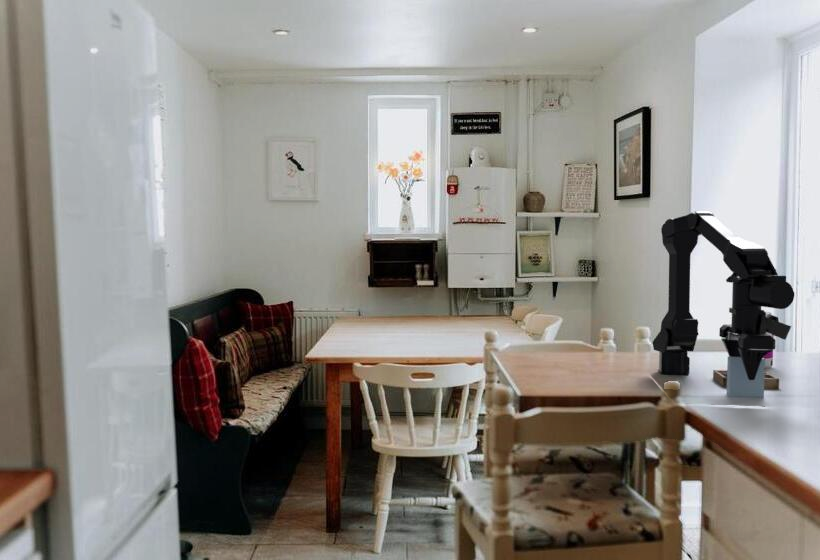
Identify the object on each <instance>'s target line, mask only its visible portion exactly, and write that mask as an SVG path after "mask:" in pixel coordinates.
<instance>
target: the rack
mask: <svg viewBox="0 0 820 560" xmlns="http://www.w3.org/2000/svg"><path fill="white" fill-rule="evenodd" d="M712 372H713V373H712V378H711V379H712V380H713V381H715V382H716V383H717V384H718V385H720V386H721V387H722V388H724V389H727V369H725V370H722V369H721V370H719V369H713V371H712ZM764 376H765V378H764V391H765V390H766V391H782V389H780V378H778V377H776V376H775V375H773V374H772V373H770V372H768V371H765V375H764Z"/></svg>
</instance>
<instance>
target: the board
mask: <svg viewBox="0 0 820 560" xmlns="http://www.w3.org/2000/svg"><path fill="white" fill-rule="evenodd" d="M765 369H766V368H765V359H764V358H762V360H761V363H760V365H759V368H758V371H757V374H756V377H755V379H754V380H749V379H748V377H747V374H746V371H745V368H744V365H743V362H742V359H741V357H729V355H728V356H727V369H726V370H727V388H726V395H727V396H728V397H743V398H745V397H746V398H764V397H765V390H764V375H765V372H766V370H765Z"/></svg>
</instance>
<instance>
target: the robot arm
mask: <svg viewBox="0 0 820 560" xmlns="http://www.w3.org/2000/svg"><path fill="white" fill-rule="evenodd" d="M660 230H661V232H660V233H661V238H662V245H663V247H664V248H665V249H666V251H667V253H668V257H669V258H668V304H667V305H668V310H667V312H666V314H665V316H663V319H662V320H661V324H660V331H659V332H658V333H657V335H656V337H655V338H654V339H653V340H652V346H653V347H652V348H653V351H657V352H659V353H658V354H659V356H658V357H659V358H658V364H659V365H658V369H657V371H658V372H659V373H660V375H661V376H662V375H663V376H685V377H686V376H689V374H690V364H691V363H690V362H691V361H690V357H689V356H688V352H694V350H695V346H696V342H697V339H698V336H699V321H698V318H694V317H693V315H692V313H691V311H690V303H691V302H690V301H691V300H690V298H691V297H690V296H691V295H690V294H691V289H690V288H691V254H692V253H693V251H694V249H695V248H696V246H697V245H698V241H699V236H702V237H703V238H704V239H706V240H707V241H708V242H709V243H710V244H712V245H713V247H715V248H716V249H717V250H718V251H719V252H720V253H721V254H722V256H723V257H722V260H723V262H724V263H725V265H726V266H727V268H728V269H729V270H730V271H731V272H732V273H731V275H729V276H728V277H727V278H726V279H725V281H726V283H731V284H732V292H731V293H732V295H731V300H732V301H731V307H728V309H729V310H728V312H729V313H730V314H731V324H722V326H720V327H719V335H718V336H719V337H721V338H720V339H721V341H722V343H723V346H724V348H725V350H726V352H727V355H728V356H729V357H741V359H742V362H743V365H744V368H745V371H746V374H747V377H748V379H749V380H754V379H755V377H756V374H757V371H758V368H759V365H760V363H761V360H762V358H763V357H764V356H765V355H766V354H768V353H770V352H772V350H771V349H773V350H776V339H775V338H773V337H772V336H770V335H768V334H766V332H768V333H770V334H772V335H774V337H777V338H779V339H781V340H785V341H786V339H787V337H788V335H789V333H790V331H791V329H792V326H791V325H789V324H786V323H783V322H780V321H779V316H775V315H773V314H772V315H770V314H769V315H768V316H766V312H767V311H765V309H762V307H763V308H770V309H778V310H784V309H787V308H788V307H790V306H791V305H792V304H793V302H794V299H795V291H794V288H793V286H792V285H791V284H790V283H789V282H788V281H787V276H786V275H782V274H781V275H779V274H778V271H777V269H776V268H775V265H774V264H773V262H772V259H771V258H770V256H769V253H768V251H767V250H766V249H765V248H764V247H763V246H761V245H759V244H757V243H755V242H752V241H748V240H745V239H742V238H741V237H740V236H738V235H737V234H735V232H734V231H732V230H731V229H730V228H728V227H727V226H726V225H725V224H723V222H721V221H720V220H719V219H717V218H716V217H715V215H714V214H713V213H712V212H710V211H693V212H690V213H688V214H686V215H683V216H678V217H675V218H668V219H666V221H665V222H664V223H663V224H662V226H661V229H660Z"/></svg>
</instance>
